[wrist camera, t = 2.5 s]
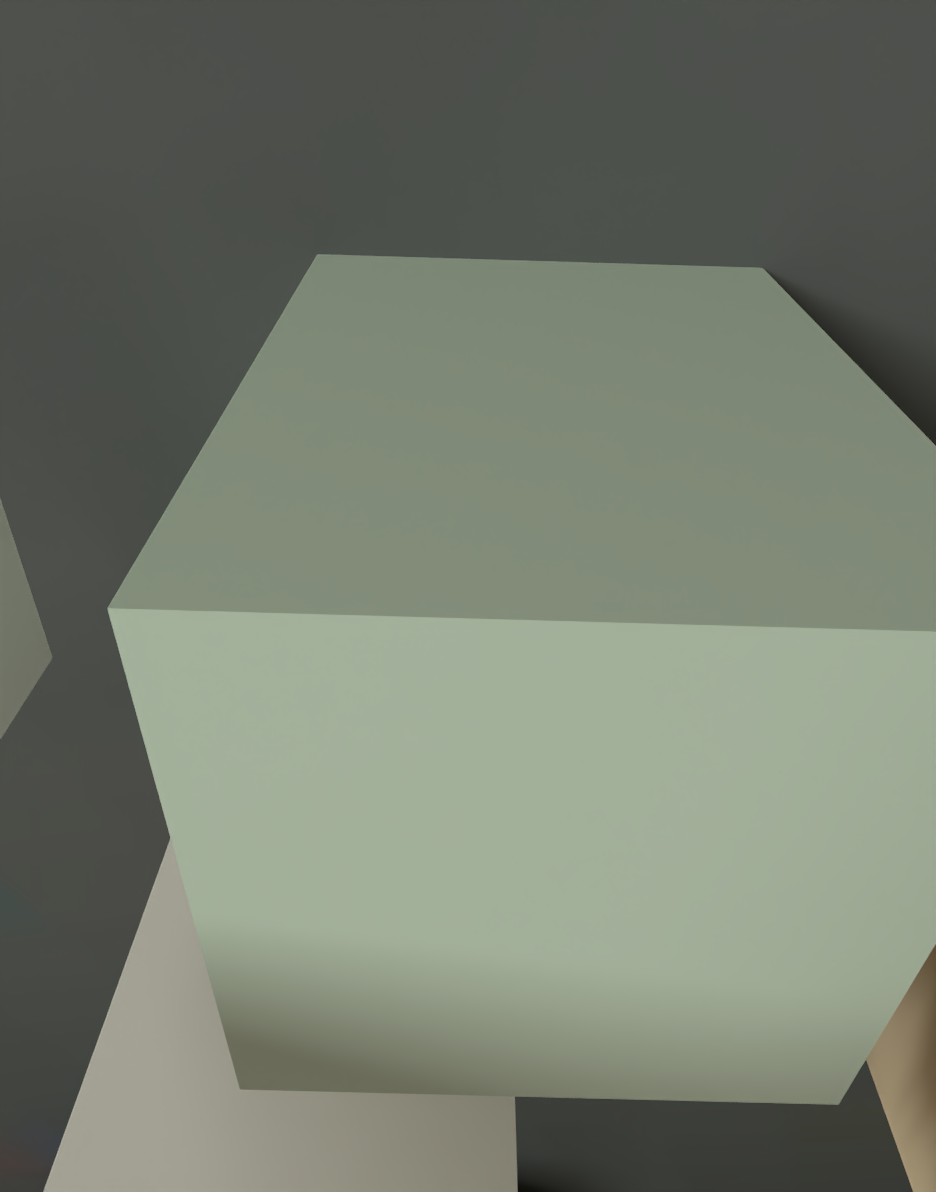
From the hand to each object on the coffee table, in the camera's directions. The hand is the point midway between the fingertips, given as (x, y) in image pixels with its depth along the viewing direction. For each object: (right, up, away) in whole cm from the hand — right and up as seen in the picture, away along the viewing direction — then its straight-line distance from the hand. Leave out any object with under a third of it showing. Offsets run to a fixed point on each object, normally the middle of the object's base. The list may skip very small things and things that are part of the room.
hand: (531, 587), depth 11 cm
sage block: (0, +2, +2) cm, 3 cm away
